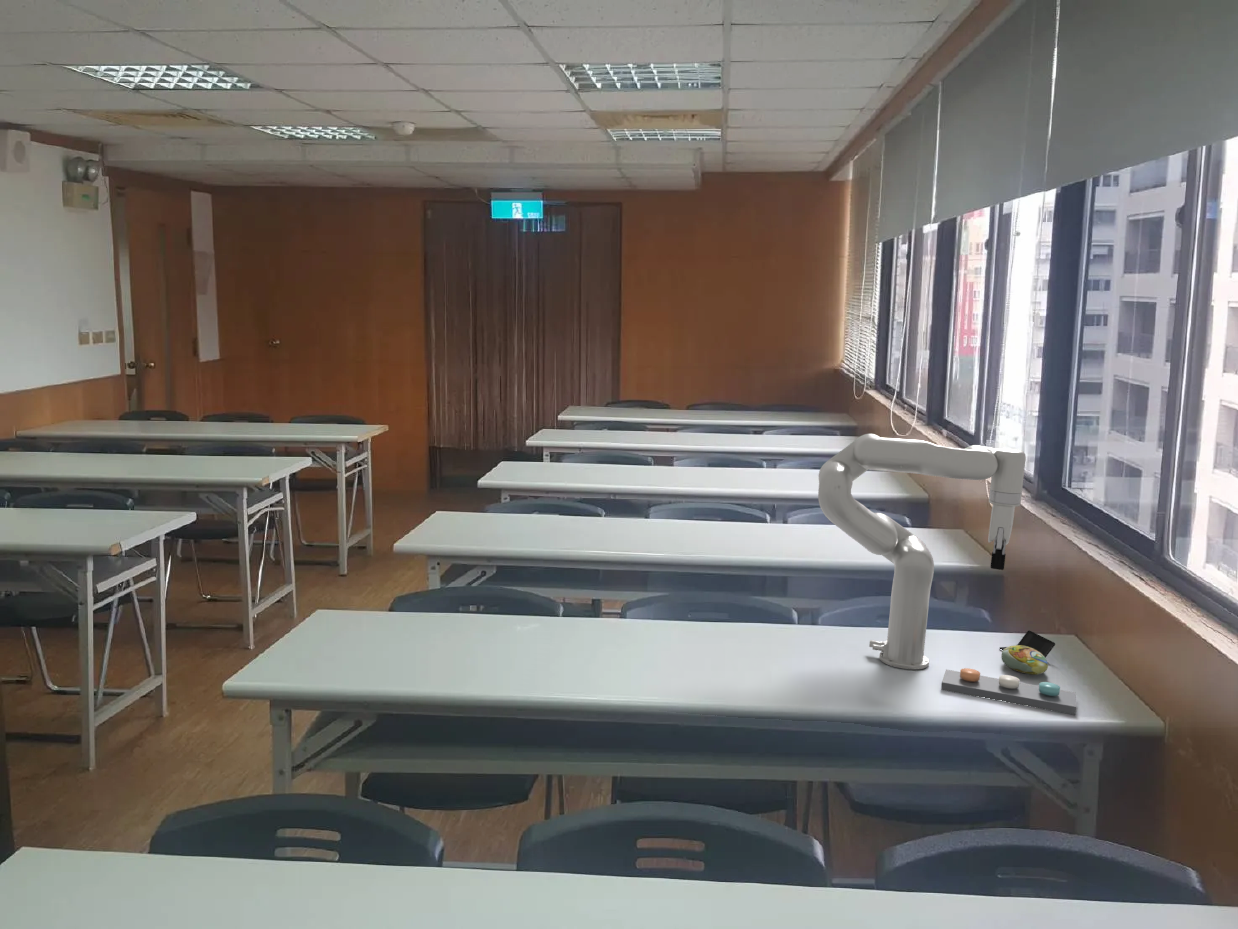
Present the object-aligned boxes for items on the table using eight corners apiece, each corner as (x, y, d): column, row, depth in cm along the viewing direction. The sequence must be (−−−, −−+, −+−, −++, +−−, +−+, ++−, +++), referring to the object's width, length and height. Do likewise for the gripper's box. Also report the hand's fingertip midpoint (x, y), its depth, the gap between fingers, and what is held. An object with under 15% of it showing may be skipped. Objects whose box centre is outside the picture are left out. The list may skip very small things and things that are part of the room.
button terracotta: (958, 679, 247) (959, 672, 247) (960, 673, 251) (961, 667, 251) (978, 682, 245) (979, 676, 245) (980, 676, 249) (980, 670, 249)
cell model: (1040, 651, 270) (1058, 650, 256) (1033, 680, 269) (1050, 680, 254) (999, 639, 272) (1014, 636, 257) (992, 667, 271) (1007, 666, 256)
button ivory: (998, 686, 243) (998, 679, 243) (999, 680, 248) (999, 673, 247) (1018, 689, 242) (1019, 683, 241) (1019, 683, 246) (1020, 677, 246)
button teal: (1038, 693, 240) (1039, 687, 240) (1038, 687, 244) (1039, 680, 244) (1059, 697, 238) (1060, 690, 238) (1059, 690, 242) (1060, 684, 242)
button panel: (941, 690, 246) (941, 682, 246) (945, 676, 255) (946, 669, 255) (1075, 715, 235) (1076, 707, 234) (1074, 700, 244) (1075, 692, 244)
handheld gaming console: (994, 645, 277) (1017, 617, 278) (1006, 657, 281) (1028, 630, 281) (1025, 665, 267) (1049, 636, 268) (1037, 678, 271) (1061, 649, 271)
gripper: (991, 491, 263) (983, 560, 266) (987, 501, 249) (979, 573, 252) (1022, 495, 260) (1014, 564, 263) (1020, 504, 246) (1011, 577, 249)
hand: (997, 568), depth 258 cm, fingers closed
